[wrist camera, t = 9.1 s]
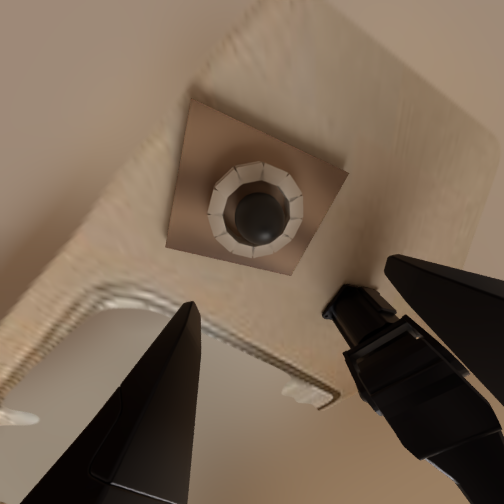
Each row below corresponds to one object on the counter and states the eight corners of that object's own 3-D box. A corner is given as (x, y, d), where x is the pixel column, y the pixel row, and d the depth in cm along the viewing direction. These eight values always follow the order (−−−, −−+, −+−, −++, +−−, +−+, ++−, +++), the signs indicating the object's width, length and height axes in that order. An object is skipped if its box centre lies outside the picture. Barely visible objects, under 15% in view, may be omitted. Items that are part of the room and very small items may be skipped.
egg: (225, 217, 17) (226, 242, 13) (249, 178, 16) (260, 191, 11) (260, 237, 19) (272, 265, 14) (285, 203, 17) (306, 223, 13)
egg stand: (288, 270, 23) (295, 284, 21) (167, 242, 18) (160, 255, 16) (342, 171, 18) (359, 175, 15) (193, 101, 13) (188, 93, 11)
